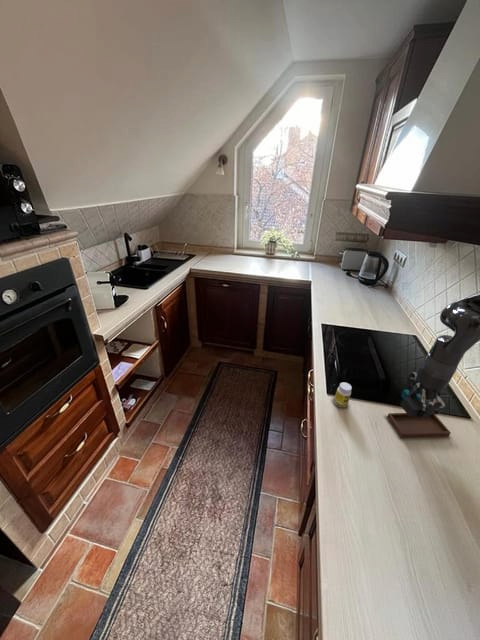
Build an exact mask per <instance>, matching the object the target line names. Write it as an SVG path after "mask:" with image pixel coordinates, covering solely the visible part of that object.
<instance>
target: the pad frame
mask: <svg viewBox="0 0 480 640" xmlns="http://www.w3.org/2000/svg"><path fill="white" fill-rule="evenodd" d="M386 418H387V420H388V422H389V423H390V424H391V426H392V428H393V429H394V431H395V432H396V434H397V435H398V437H399V438H400V439H421V438H423V439H424V438H425V439H426V438H427V439H428V438H449V436H450V435H451V434H452V432H451V431H450V430H449V428H448V427H447V426H446V425H445V424H444V423H443V421H441V419H440V418H439V417H438V416H437V414H431V415H430V417H427V418H418V417H409V416H408V414H407V413H406V412H389V413H388V414H387V416H386Z"/></svg>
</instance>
